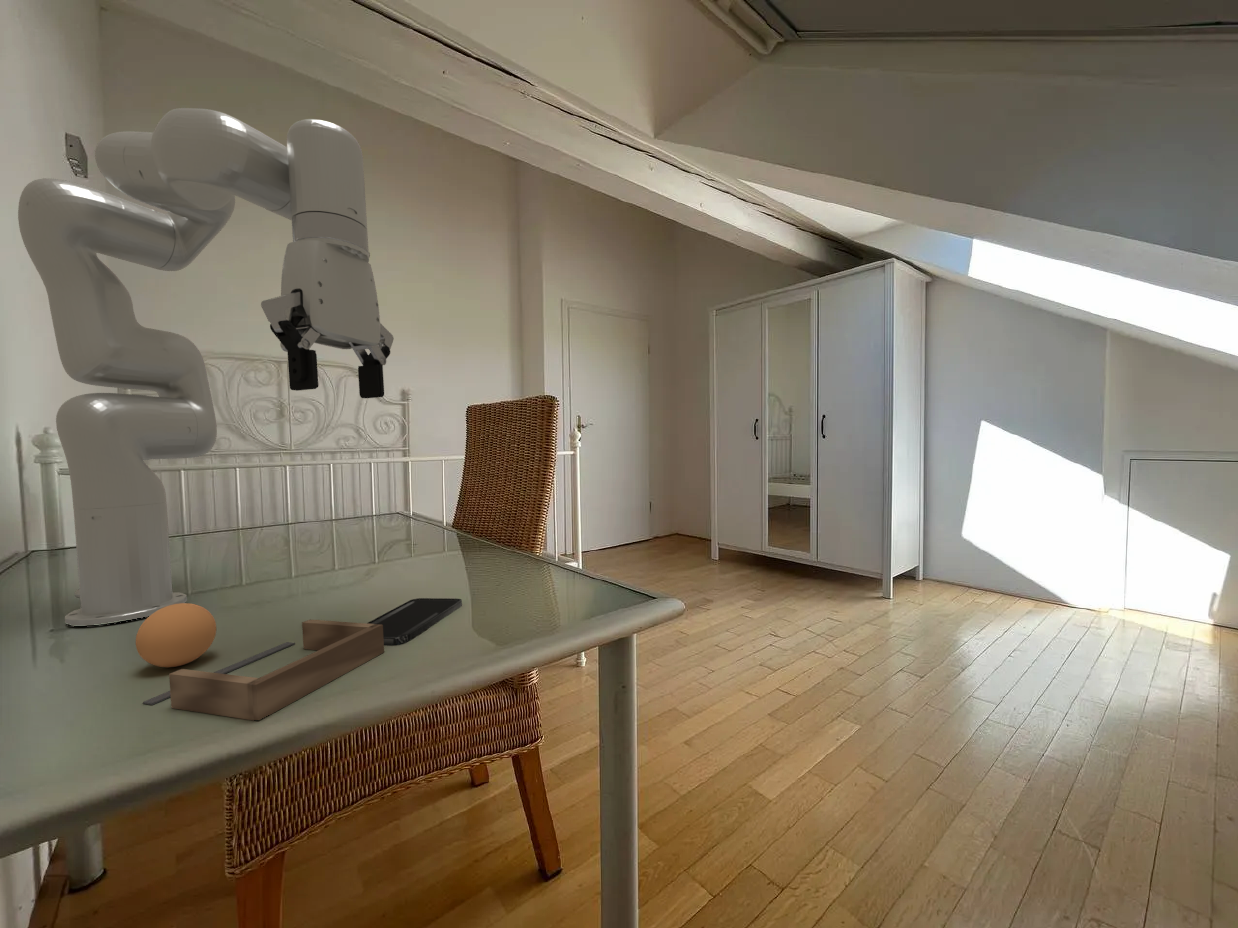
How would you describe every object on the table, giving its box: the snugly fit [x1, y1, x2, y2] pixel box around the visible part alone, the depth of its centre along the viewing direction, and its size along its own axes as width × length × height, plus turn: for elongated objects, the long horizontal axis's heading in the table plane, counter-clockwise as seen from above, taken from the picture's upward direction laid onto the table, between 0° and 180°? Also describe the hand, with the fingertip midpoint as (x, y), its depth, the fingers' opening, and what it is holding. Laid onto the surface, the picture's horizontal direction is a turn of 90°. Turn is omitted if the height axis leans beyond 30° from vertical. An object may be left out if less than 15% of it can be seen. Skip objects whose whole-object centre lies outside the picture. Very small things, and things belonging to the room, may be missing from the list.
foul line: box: [142, 641, 296, 706], centre depth 51 cm, size 1×14×1 cm, turn 164°
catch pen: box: [168, 618, 385, 721], centre depth 49 cm, size 10×14×3 cm
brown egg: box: [135, 602, 217, 668], centre depth 53 cm, size 6×6×6 cm
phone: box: [366, 597, 463, 647], centre depth 64 cm, size 8×1×15 cm
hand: (340, 393), depth 58 cm, fingers open, 9 cm apart
